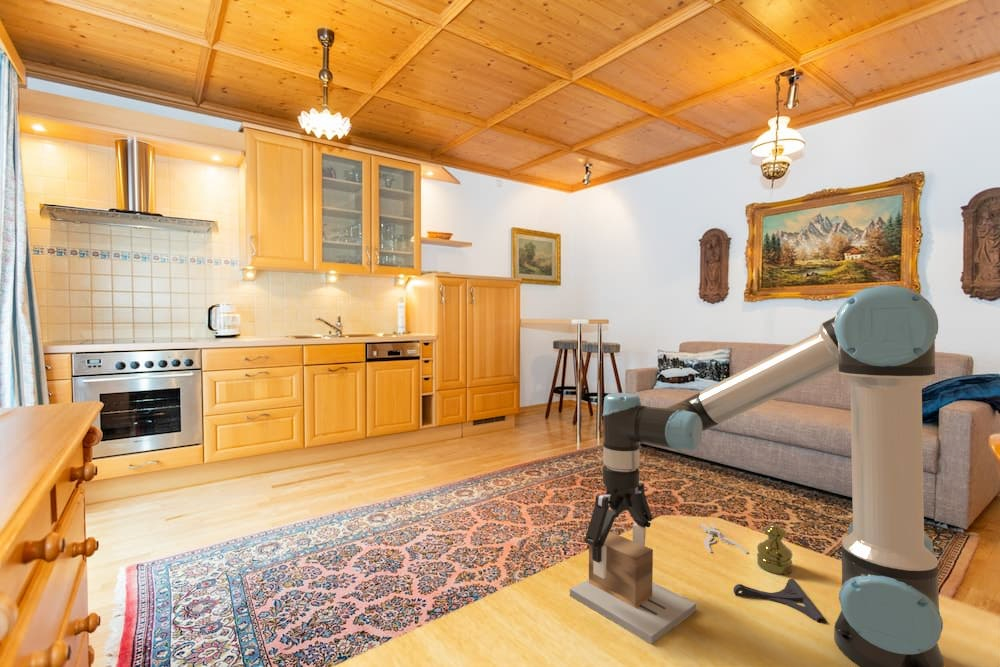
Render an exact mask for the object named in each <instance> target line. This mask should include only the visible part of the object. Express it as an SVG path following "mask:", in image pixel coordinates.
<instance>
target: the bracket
mask: <svg viewBox="0 0 1000 667" xmlns="http://www.w3.org/2000/svg"><path fill="white" fill-rule="evenodd" d="M785 584H786V585H785V587H784V588H782V589H781V590H779V591H776V592H773V591H772V592H768V591H763V590H758V589H755V588H753V587H750V586H746V585H743V584H742V583H738V584H735V585H734V586H733V593H734V595H735V596H736V597H742V598H751V599H754V598H755V599H763V600H770V601H774V602H776V603H780V604H783V605H786V606H788V607H790V608H792V609H795V610H796V611H798V612H799V613H802V614H804V615H806V616H807V617H808V618H810V619H811V620H812V621H815V622H817V623H819V620H820V619H821V621H822V622H823V623H824V624H827V621H826V618H825V617H824V616H823V615H822V613H821V612H820V611H819V610H818V608H817V607H816V606H815V604H814V603H813V602H812V600H811V599H810V598H809V597H808V595H807V594H806V593H805V591H804V590H803V589H802V588H801V586H800V585H799V584H798V582H797V581H796V580H795V579H794V578H789V579H788V580H787V582H786V583H785ZM798 603H801V604H798ZM802 604H803V605H802Z"/></svg>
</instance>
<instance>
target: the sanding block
mask: <svg viewBox="0 0 1000 667" xmlns="http://www.w3.org/2000/svg"><path fill="white" fill-rule="evenodd" d="M599 540H600V539H599ZM604 545H605V546H606V578H604V579H603V578H601V577H599V576H597V575H595V574H593V559H592V545H590V544H588V579H589V583H591V584H593V585H594V586H596V587H598V588H600V589H602V590H604V591H606V592H607V593H609V594H611V595H613V596H615V597H617V598H618V599H620V600H622V601H624V602H626V603H628V604H630V605H631V606H633V607H635V608H636V607H637V606H639V605H640V604H642V603H643V602H645V601H646V600H648V599H649V598H651V597H652V582H653V568H654V566H653V564H654V560H653V557H654V555H653V554H654V552H653V551H654V550H653V548H650V547H648V546H646V545H645V546H643V545H641V544H638V543H636V542H634V541H633V540H631V539H629V538H626V537H623V536H621V535H619V534H617V533H615V532H612V531H611V530H610V531H609V534H608V536H607V538H606V540H605V543H604Z"/></svg>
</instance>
